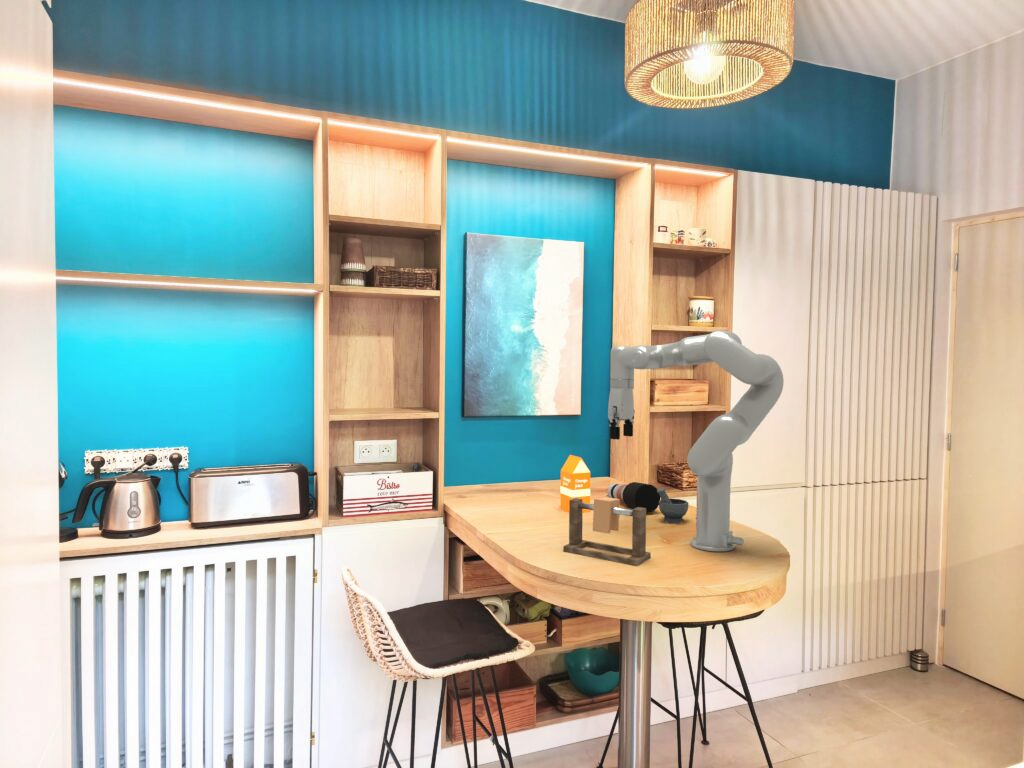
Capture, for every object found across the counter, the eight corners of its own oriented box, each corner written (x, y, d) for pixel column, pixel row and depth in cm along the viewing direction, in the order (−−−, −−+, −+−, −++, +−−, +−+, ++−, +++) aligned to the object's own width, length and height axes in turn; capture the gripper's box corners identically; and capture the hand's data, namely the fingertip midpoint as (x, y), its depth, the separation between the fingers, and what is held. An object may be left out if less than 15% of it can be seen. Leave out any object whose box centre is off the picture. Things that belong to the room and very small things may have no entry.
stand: (650, 557, 184) (651, 506, 183) (637, 566, 176) (637, 512, 176) (578, 544, 197) (579, 496, 196) (563, 551, 189) (563, 501, 189)
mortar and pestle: (677, 517, 231) (678, 483, 230) (693, 523, 222) (694, 488, 221) (649, 519, 227) (650, 485, 226) (664, 526, 218) (665, 490, 218)
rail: (642, 517, 181) (642, 510, 181) (639, 518, 179) (640, 511, 179) (575, 506, 193) (575, 500, 193) (572, 507, 191) (572, 501, 191)
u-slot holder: (618, 530, 187) (619, 499, 187) (608, 533, 182) (610, 501, 182) (602, 528, 190) (604, 496, 190) (592, 530, 185) (594, 498, 185)
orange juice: (571, 513, 235) (572, 458, 234) (560, 508, 243) (560, 455, 242) (590, 511, 238) (591, 457, 237) (578, 506, 246) (578, 454, 245)
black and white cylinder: (614, 506, 266) (623, 483, 268) (653, 517, 234) (664, 491, 235) (593, 496, 264) (603, 473, 266) (630, 505, 231) (641, 479, 233)
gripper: (623, 383, 220) (622, 434, 220) (599, 385, 206) (598, 439, 206) (644, 384, 215) (643, 435, 216) (620, 385, 201) (620, 441, 202)
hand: (621, 437), depth 211 cm, fingers open, 9 cm apart
